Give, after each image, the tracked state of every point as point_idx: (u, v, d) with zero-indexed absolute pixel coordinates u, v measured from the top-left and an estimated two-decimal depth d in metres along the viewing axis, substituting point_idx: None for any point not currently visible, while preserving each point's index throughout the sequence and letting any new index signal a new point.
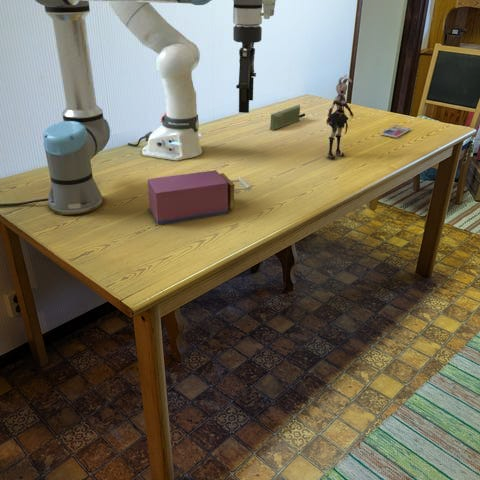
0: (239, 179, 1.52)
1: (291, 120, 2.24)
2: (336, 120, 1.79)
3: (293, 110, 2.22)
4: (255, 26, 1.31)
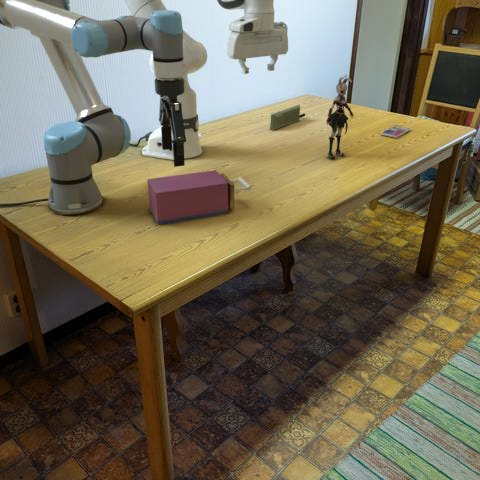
0: (239, 179, 1.52)
1: (291, 120, 2.24)
2: (336, 120, 1.79)
3: (293, 110, 2.22)
4: (179, 78, 1.27)
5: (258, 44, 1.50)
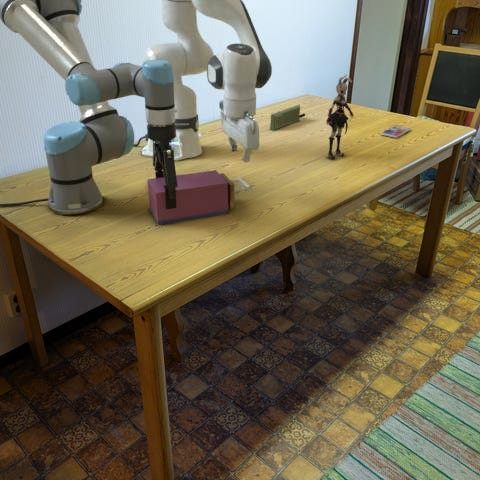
0: (239, 179, 1.52)
1: (291, 120, 2.24)
2: (336, 120, 1.79)
3: (293, 110, 2.22)
4: (171, 124, 1.31)
5: (232, 126, 1.42)
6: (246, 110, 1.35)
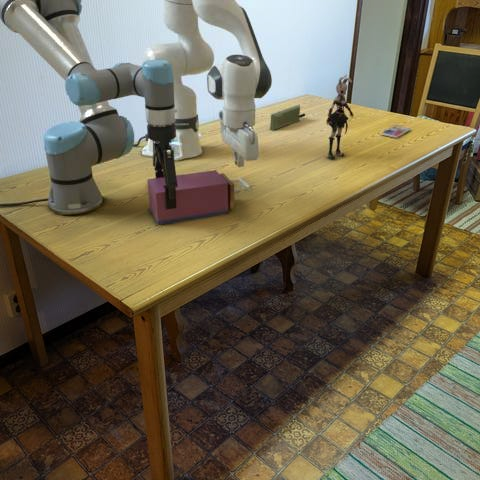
0: (239, 179, 1.52)
1: (291, 120, 2.24)
2: (336, 120, 1.79)
3: (293, 110, 2.22)
4: (171, 124, 1.31)
5: (231, 136, 1.43)
6: (245, 120, 1.36)
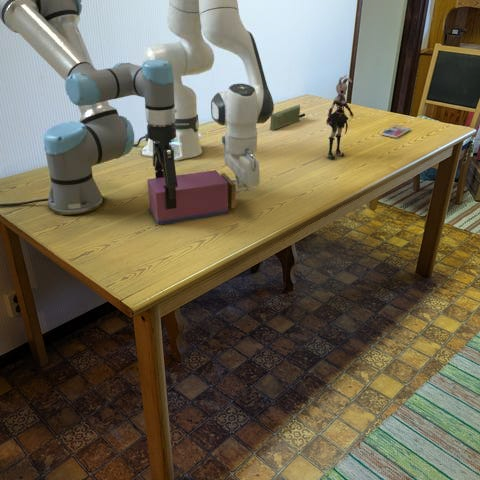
0: None
1: (291, 120, 2.24)
2: (336, 120, 1.79)
3: (293, 110, 2.22)
4: (171, 124, 1.31)
5: (233, 161, 1.47)
6: (247, 147, 1.40)
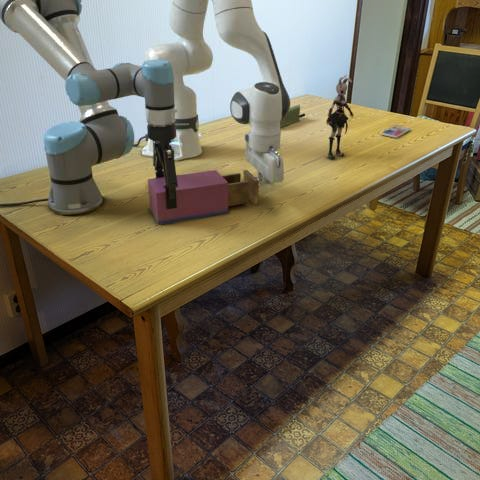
0: None
1: (291, 120, 2.24)
2: (336, 120, 1.79)
3: (293, 110, 2.22)
4: (171, 124, 1.31)
5: (257, 158, 1.49)
6: (271, 145, 1.42)
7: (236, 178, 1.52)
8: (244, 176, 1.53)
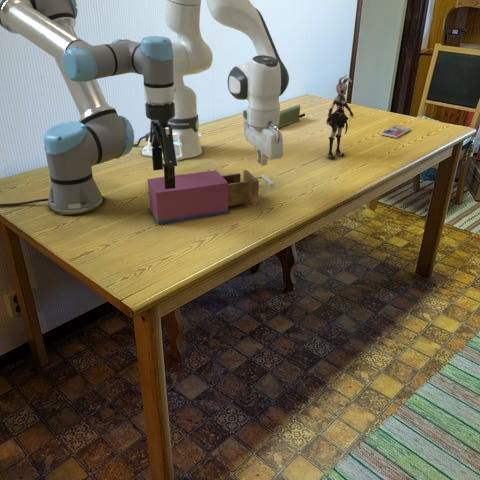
0: (262, 176, 1.55)
1: (291, 120, 2.24)
2: (336, 120, 1.79)
3: (293, 110, 2.22)
4: (170, 103, 1.29)
5: (255, 135, 1.46)
6: (270, 120, 1.39)
7: (236, 178, 1.52)
8: (244, 176, 1.53)
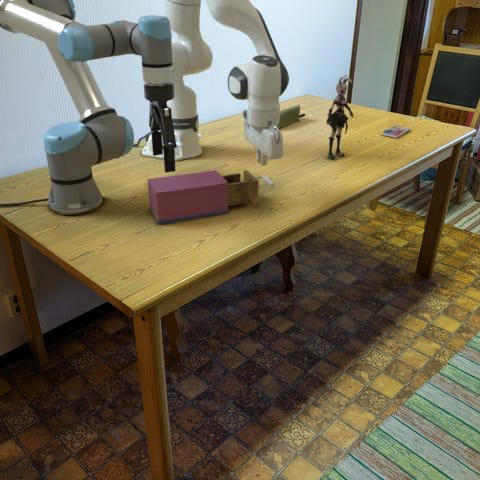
0: (262, 176, 1.55)
1: (291, 120, 2.24)
2: (336, 120, 1.79)
3: (293, 110, 2.22)
4: (169, 84, 1.26)
5: (255, 135, 1.46)
6: (270, 120, 1.39)
7: (236, 178, 1.52)
8: (244, 176, 1.53)
